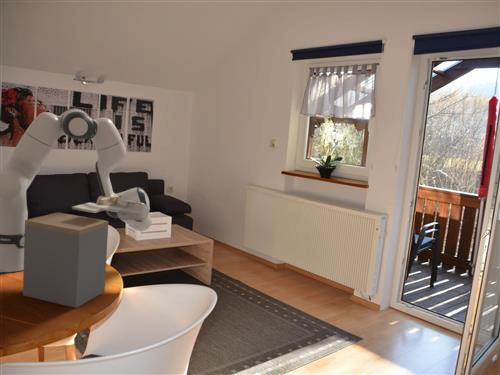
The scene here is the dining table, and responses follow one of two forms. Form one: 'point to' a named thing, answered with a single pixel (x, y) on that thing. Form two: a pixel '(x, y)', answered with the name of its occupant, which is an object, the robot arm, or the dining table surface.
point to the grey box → (64, 258)
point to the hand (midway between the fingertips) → (113, 198)
